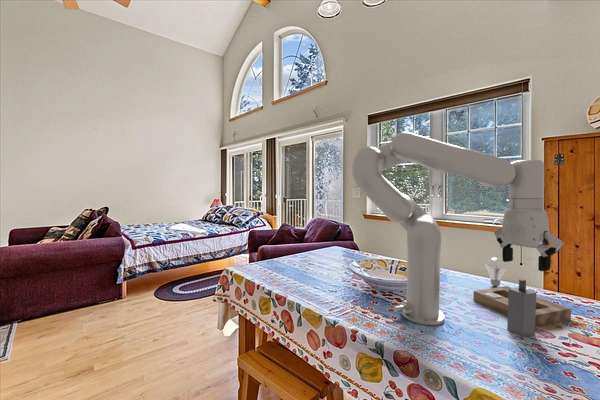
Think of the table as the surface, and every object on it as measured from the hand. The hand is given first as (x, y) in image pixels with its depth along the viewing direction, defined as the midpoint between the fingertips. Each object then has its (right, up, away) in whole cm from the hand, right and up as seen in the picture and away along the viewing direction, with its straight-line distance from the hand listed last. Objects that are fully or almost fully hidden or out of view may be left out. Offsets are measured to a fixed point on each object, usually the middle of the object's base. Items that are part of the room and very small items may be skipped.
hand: (524, 265), depth 78 cm
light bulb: (+17, -17, +36) cm, 43 cm away
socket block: (+10, -18, +16) cm, 26 cm away
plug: (0, -19, +1) cm, 19 cm away
